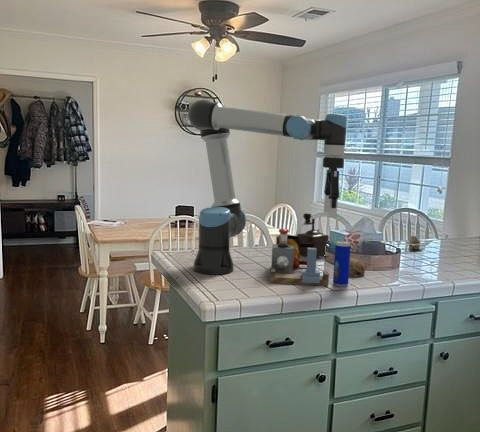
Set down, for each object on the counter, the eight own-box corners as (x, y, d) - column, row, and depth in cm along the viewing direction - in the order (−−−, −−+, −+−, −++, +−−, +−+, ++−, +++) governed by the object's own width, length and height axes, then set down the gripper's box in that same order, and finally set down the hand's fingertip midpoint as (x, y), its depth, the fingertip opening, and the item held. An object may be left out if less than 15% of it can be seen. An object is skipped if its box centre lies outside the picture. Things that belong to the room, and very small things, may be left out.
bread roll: (344, 286, 180) (351, 269, 176) (329, 269, 188) (336, 252, 184) (364, 283, 185) (372, 267, 181) (349, 267, 192) (356, 251, 188)
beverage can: (331, 282, 171) (333, 240, 169) (345, 282, 171) (348, 241, 169) (335, 286, 165) (337, 243, 163) (349, 286, 166) (352, 243, 164)
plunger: (278, 248, 180) (279, 229, 179) (278, 246, 184) (279, 228, 183) (287, 248, 180) (288, 230, 179) (287, 247, 183) (288, 228, 182)
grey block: (271, 274, 179) (272, 248, 177) (271, 269, 187) (272, 243, 186) (292, 275, 178) (294, 249, 177) (292, 270, 186) (293, 244, 185)
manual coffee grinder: (329, 255, 216) (331, 216, 214) (311, 258, 210) (313, 217, 208) (305, 249, 229) (307, 212, 227) (288, 251, 223) (290, 213, 220)
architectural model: (421, 251, 237) (423, 236, 236) (412, 252, 234) (413, 237, 233) (416, 249, 240) (417, 235, 239) (406, 250, 237) (407, 235, 236)
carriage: (302, 282, 165) (303, 250, 164) (301, 276, 173) (303, 246, 172) (319, 283, 165) (321, 251, 164) (318, 277, 173) (319, 246, 171)
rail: (270, 282, 168) (270, 271, 167) (270, 278, 173) (271, 267, 173) (328, 285, 166) (328, 274, 165) (326, 281, 171) (327, 270, 171)
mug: (313, 268, 191) (314, 238, 190) (281, 270, 187) (282, 239, 185) (301, 262, 200) (303, 234, 199) (271, 264, 196) (272, 235, 194)
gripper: (350, 157, 163) (345, 219, 166) (338, 157, 188) (334, 211, 191) (328, 157, 164) (323, 218, 166) (319, 156, 188) (315, 210, 191)
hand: (329, 214), depth 179 cm, fingers open, 13 cm apart
